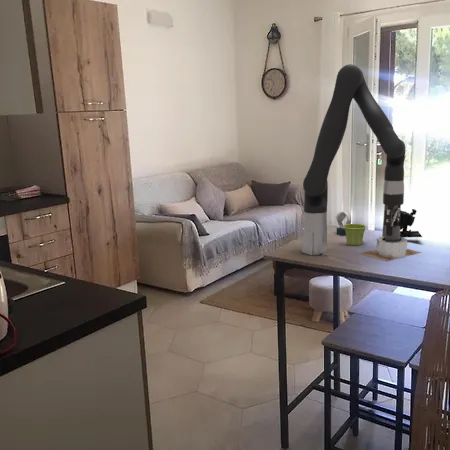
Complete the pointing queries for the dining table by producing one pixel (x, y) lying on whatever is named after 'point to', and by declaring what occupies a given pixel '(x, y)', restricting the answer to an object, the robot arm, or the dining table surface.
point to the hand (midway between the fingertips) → (392, 233)
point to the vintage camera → (404, 223)
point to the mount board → (375, 255)
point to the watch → (340, 218)
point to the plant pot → (354, 233)
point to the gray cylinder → (393, 234)
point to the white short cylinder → (391, 248)
